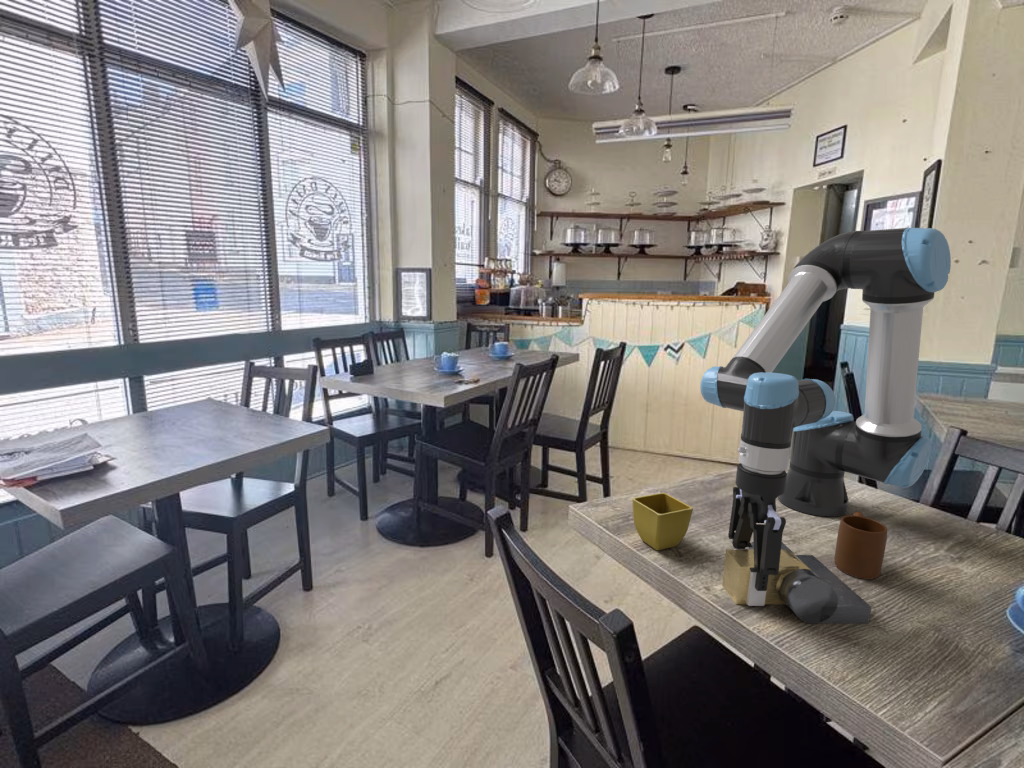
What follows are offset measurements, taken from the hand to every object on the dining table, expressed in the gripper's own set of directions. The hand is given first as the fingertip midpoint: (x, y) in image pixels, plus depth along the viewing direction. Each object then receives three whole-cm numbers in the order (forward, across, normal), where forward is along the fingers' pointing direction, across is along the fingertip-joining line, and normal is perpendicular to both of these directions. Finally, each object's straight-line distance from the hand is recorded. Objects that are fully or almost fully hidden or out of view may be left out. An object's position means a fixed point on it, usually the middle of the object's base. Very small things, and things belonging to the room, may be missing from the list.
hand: (746, 593), depth 93 cm
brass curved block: (0, 0, +4) cm, 4 cm away
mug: (0, -10, +26) cm, 28 cm away
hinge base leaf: (0, 0, +10) cm, 10 cm away
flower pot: (+1, -18, -10) cm, 21 cm away
